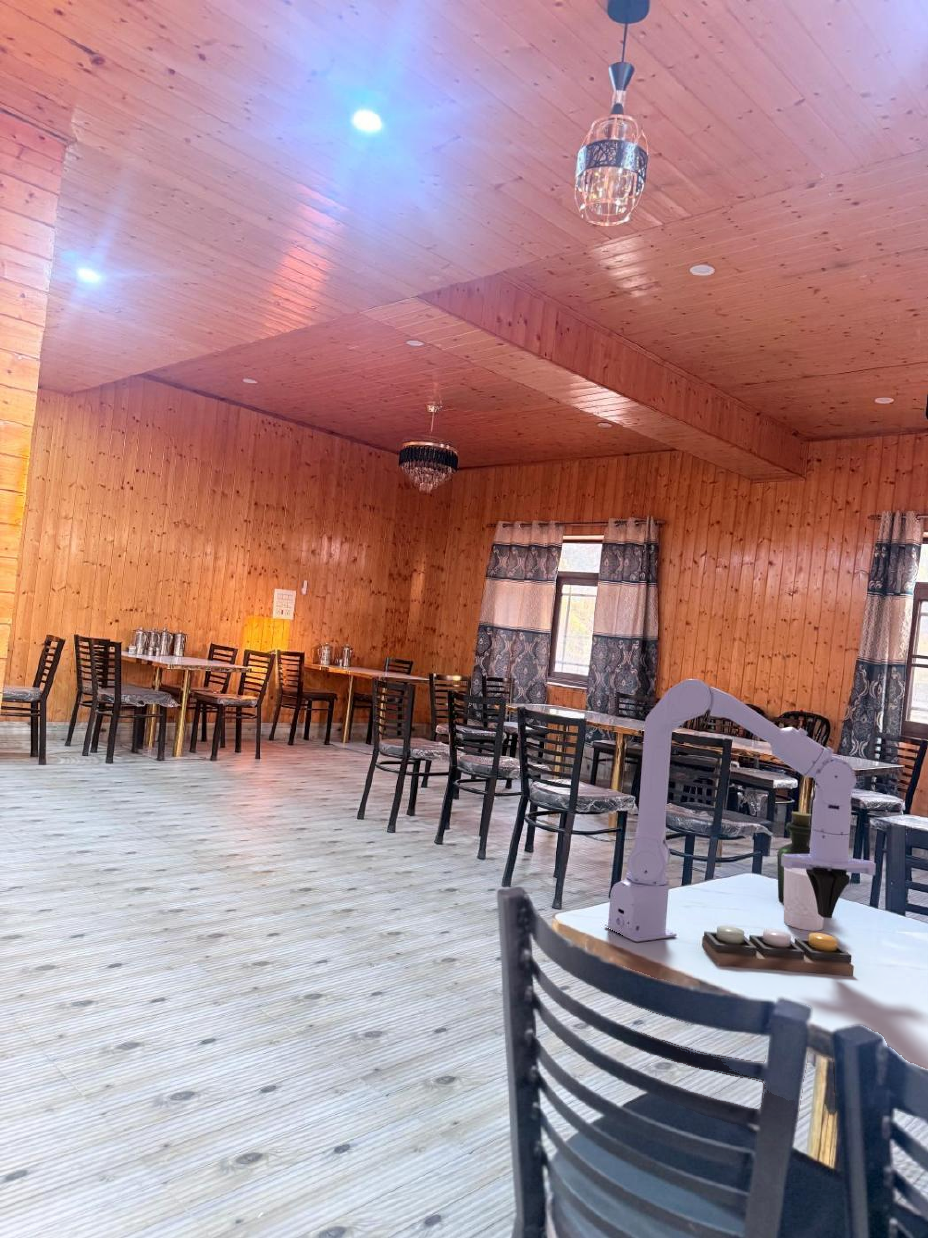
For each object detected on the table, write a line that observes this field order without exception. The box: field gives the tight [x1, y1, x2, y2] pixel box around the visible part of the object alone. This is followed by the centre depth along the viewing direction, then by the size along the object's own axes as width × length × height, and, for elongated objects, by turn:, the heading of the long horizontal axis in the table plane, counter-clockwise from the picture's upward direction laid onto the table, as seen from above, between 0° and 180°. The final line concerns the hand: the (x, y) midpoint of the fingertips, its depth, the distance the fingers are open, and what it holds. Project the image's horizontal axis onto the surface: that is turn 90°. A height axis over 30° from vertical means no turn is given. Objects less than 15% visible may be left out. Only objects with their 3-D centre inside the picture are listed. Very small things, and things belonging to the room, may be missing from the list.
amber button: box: [808, 932, 838, 951], centre depth 138 cm, size 4×4×1 cm
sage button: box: [716, 925, 745, 943], centre depth 138 cm, size 4×4×1 cm
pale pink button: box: [762, 928, 792, 947], centre depth 138 cm, size 4×4×1 cm
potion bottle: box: [776, 811, 812, 904], centre depth 175 cm, size 8×8×18 cm
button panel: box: [701, 931, 854, 977], centre depth 138 cm, size 21×9×3 cm, turn 91°
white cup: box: [783, 867, 825, 932], centre depth 159 cm, size 8×8×10 cm
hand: (824, 916), depth 138 cm, fingers closed
